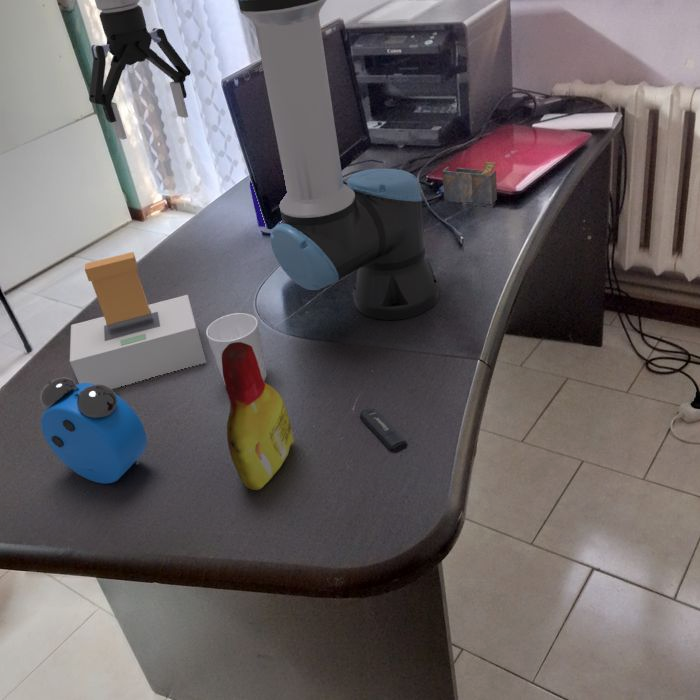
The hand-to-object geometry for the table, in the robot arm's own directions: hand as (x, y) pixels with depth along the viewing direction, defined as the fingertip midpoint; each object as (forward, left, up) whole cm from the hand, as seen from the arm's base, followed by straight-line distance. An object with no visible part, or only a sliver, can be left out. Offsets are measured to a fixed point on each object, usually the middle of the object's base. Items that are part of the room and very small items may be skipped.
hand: (153, 127), depth 141 cm
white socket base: (-28, +27, -28) cm, 48 cm away
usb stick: (-73, +14, -29) cm, 80 cm away
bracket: (-1, -28, -28) cm, 40 cm away
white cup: (-47, +19, -28) cm, 58 cm away
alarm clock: (-49, +44, -28) cm, 72 cm away
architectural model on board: (-34, -52, -29) cm, 68 cm away
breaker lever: (-28, +27, -20) cm, 44 cm away
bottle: (-66, +29, -28) cm, 77 cm away
